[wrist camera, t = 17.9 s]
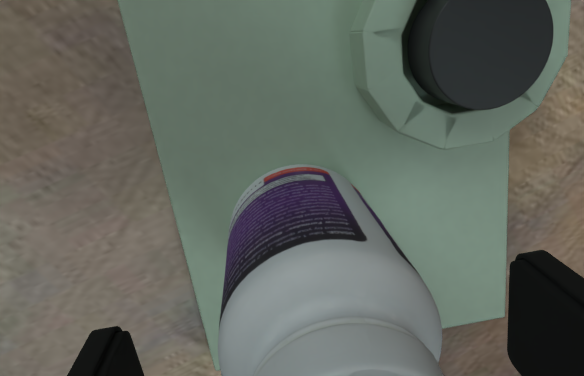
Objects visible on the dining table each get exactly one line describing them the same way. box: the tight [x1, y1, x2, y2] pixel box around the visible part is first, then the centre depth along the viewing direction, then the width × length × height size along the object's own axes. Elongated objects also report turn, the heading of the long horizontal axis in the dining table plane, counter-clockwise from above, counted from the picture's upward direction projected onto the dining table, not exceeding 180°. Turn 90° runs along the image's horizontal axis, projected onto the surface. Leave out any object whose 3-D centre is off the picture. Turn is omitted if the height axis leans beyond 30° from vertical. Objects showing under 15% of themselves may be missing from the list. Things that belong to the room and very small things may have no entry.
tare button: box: [407, 0, 553, 110], centre depth 13 cm, size 4×4×2 cm
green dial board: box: [118, 0, 571, 371], centre depth 16 cm, size 16×14×3 cm
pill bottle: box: [218, 164, 444, 376], centre depth 12 cm, size 5×5×10 cm
